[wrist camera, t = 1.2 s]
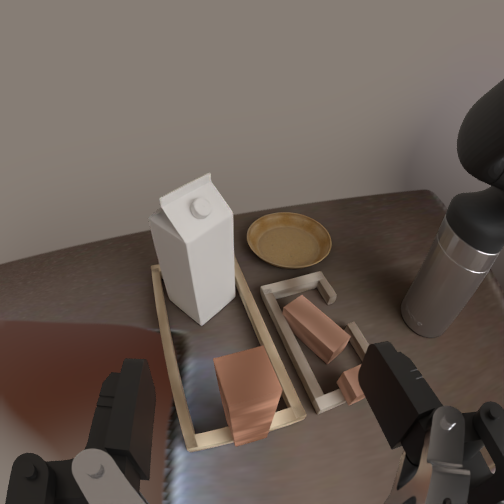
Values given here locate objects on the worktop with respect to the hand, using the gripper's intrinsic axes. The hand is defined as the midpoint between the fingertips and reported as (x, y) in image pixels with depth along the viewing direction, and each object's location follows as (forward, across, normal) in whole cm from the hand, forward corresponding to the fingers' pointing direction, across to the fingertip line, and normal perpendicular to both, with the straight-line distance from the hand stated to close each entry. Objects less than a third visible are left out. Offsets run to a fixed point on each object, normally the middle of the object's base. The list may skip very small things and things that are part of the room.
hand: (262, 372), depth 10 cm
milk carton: (+30, +3, +17) cm, 35 cm away
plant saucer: (+40, -12, +13) cm, 44 cm away
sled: (+23, +1, +18) cm, 29 cm away
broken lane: (+21, -13, +18) cm, 31 cm away
